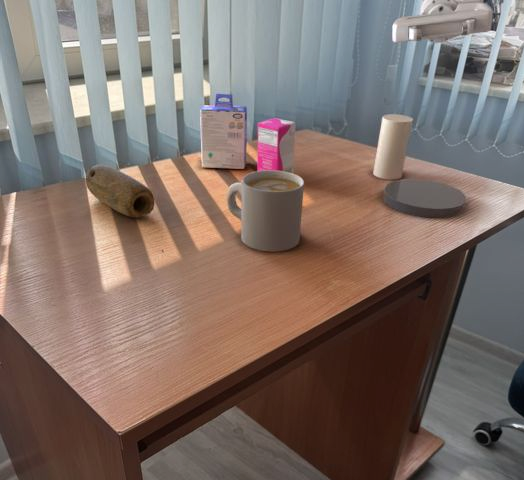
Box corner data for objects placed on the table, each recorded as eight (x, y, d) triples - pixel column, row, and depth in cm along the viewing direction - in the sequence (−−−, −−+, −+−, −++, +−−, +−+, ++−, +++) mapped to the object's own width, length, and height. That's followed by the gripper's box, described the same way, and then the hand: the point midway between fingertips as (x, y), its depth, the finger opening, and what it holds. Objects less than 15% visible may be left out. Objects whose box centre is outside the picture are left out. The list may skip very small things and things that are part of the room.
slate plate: (437, 185, 113) (439, 176, 112) (480, 214, 101) (483, 205, 99) (370, 189, 109) (371, 181, 108) (405, 220, 97) (407, 211, 96)
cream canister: (393, 169, 120) (404, 113, 113) (406, 178, 115) (418, 121, 108) (368, 170, 119) (377, 114, 111) (380, 180, 114) (390, 122, 106)
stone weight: (81, 202, 98) (75, 166, 94) (112, 192, 103) (107, 158, 98) (131, 226, 91) (126, 188, 87) (162, 214, 95) (159, 178, 91)
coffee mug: (310, 238, 89) (316, 180, 83) (273, 257, 83) (277, 197, 77) (253, 215, 96) (254, 161, 90) (215, 232, 90) (213, 174, 84)
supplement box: (272, 171, 116) (274, 116, 109) (293, 178, 113) (297, 122, 106) (255, 178, 112) (257, 121, 105) (277, 185, 109) (280, 127, 102)
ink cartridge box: (246, 162, 120) (247, 93, 111) (245, 170, 116) (246, 99, 107) (204, 160, 120) (201, 91, 111) (201, 168, 116) (198, 97, 107)
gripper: (392, 9, 117) (389, 22, 107) (490, -5, 112) (496, 8, 102) (392, 40, 121) (389, 56, 111) (486, 29, 116) (492, 45, 106)
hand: (441, 33), depth 107 cm, fingers open, 8 cm apart
